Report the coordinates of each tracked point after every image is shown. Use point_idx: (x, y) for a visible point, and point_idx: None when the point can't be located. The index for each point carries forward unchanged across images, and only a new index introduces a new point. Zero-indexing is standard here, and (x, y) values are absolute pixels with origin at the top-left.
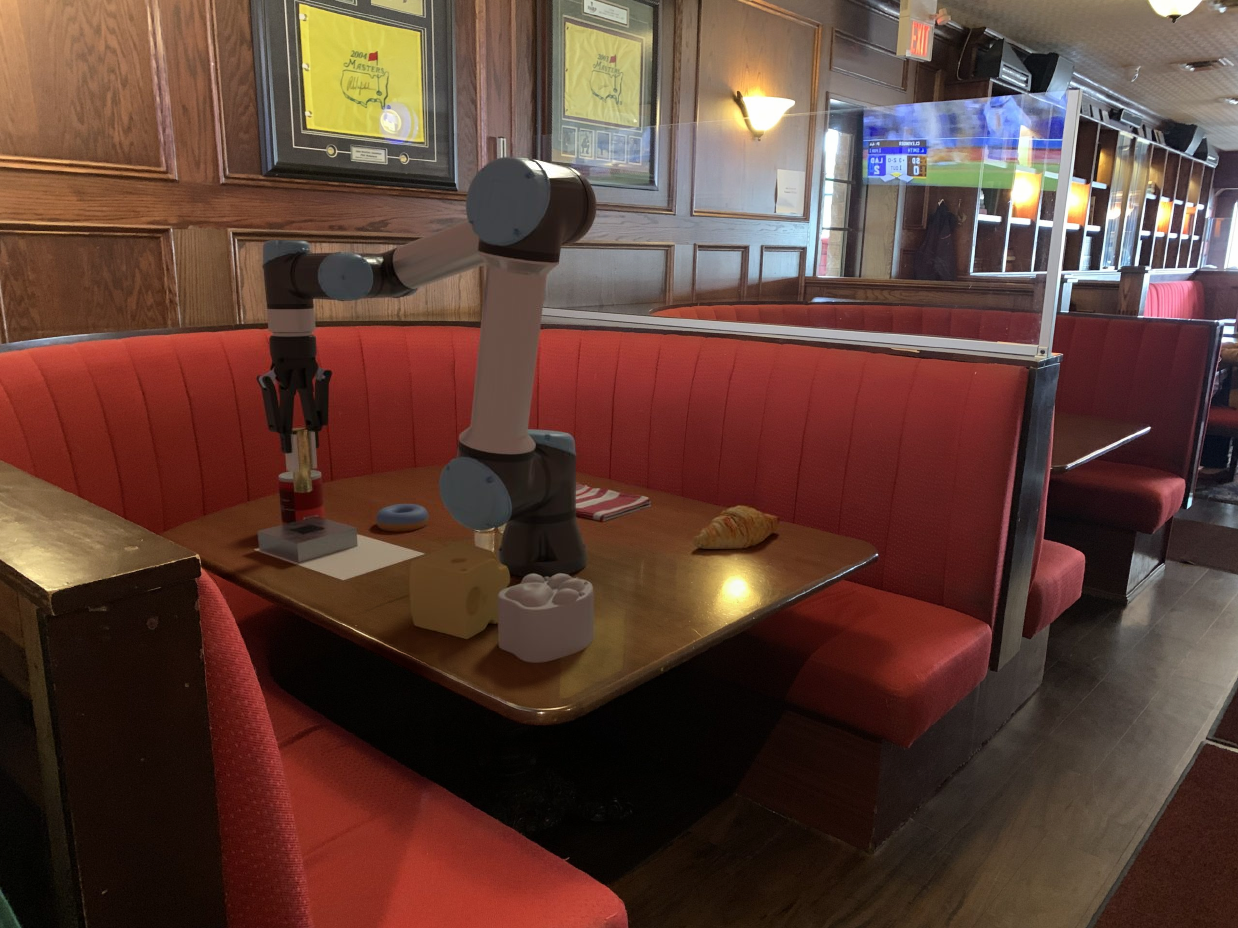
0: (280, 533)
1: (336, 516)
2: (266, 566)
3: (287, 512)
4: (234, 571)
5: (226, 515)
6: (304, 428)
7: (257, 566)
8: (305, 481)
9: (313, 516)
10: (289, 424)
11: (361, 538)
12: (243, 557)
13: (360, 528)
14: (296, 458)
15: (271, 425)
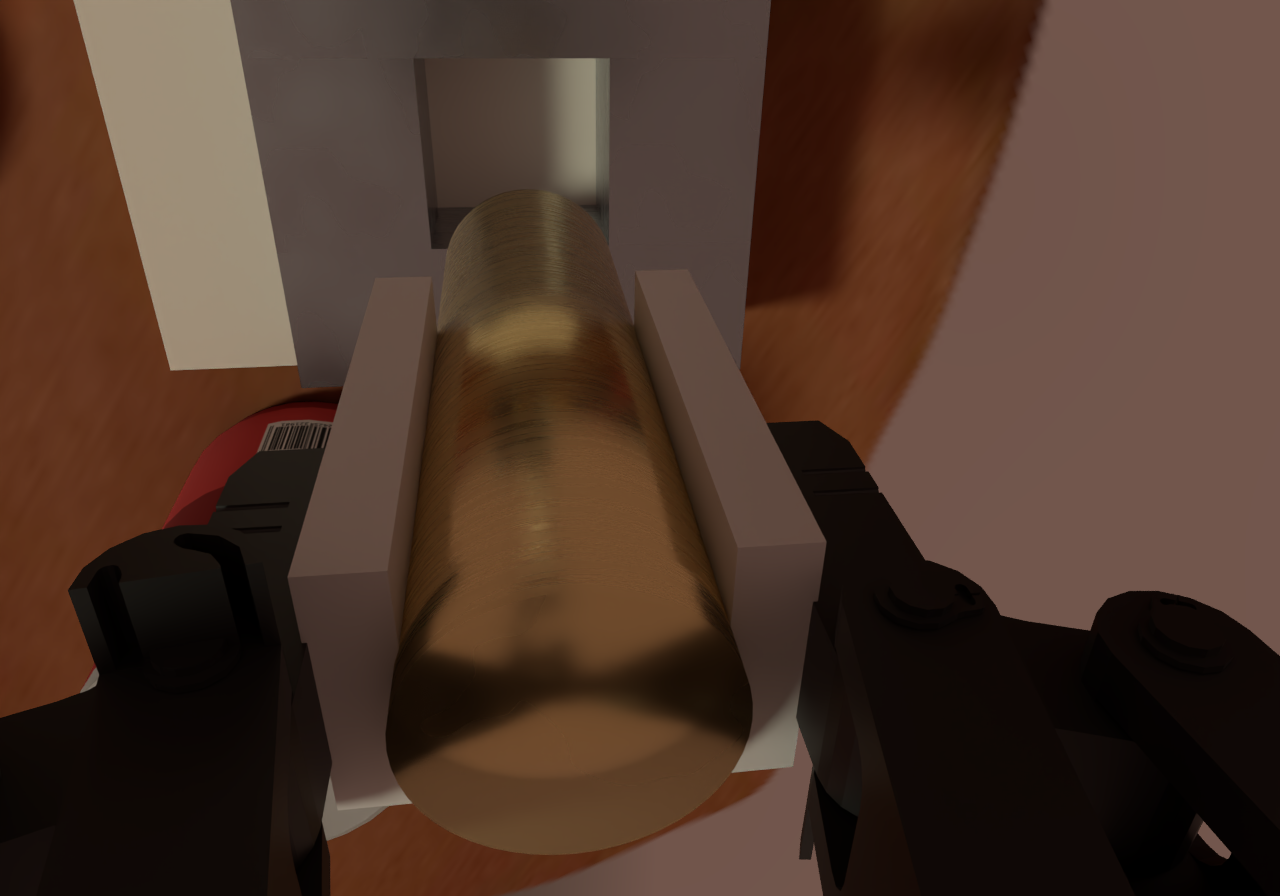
0: (692, 212)
1: (45, 582)
2: (854, 44)
3: None
4: (996, 114)
5: (477, 876)
6: (446, 742)
7: (879, 90)
8: (554, 226)
9: (289, 448)
10: (972, 722)
11: (130, 14)
12: (814, 297)
13: (15, 273)
14: (691, 340)
15: (1182, 856)
